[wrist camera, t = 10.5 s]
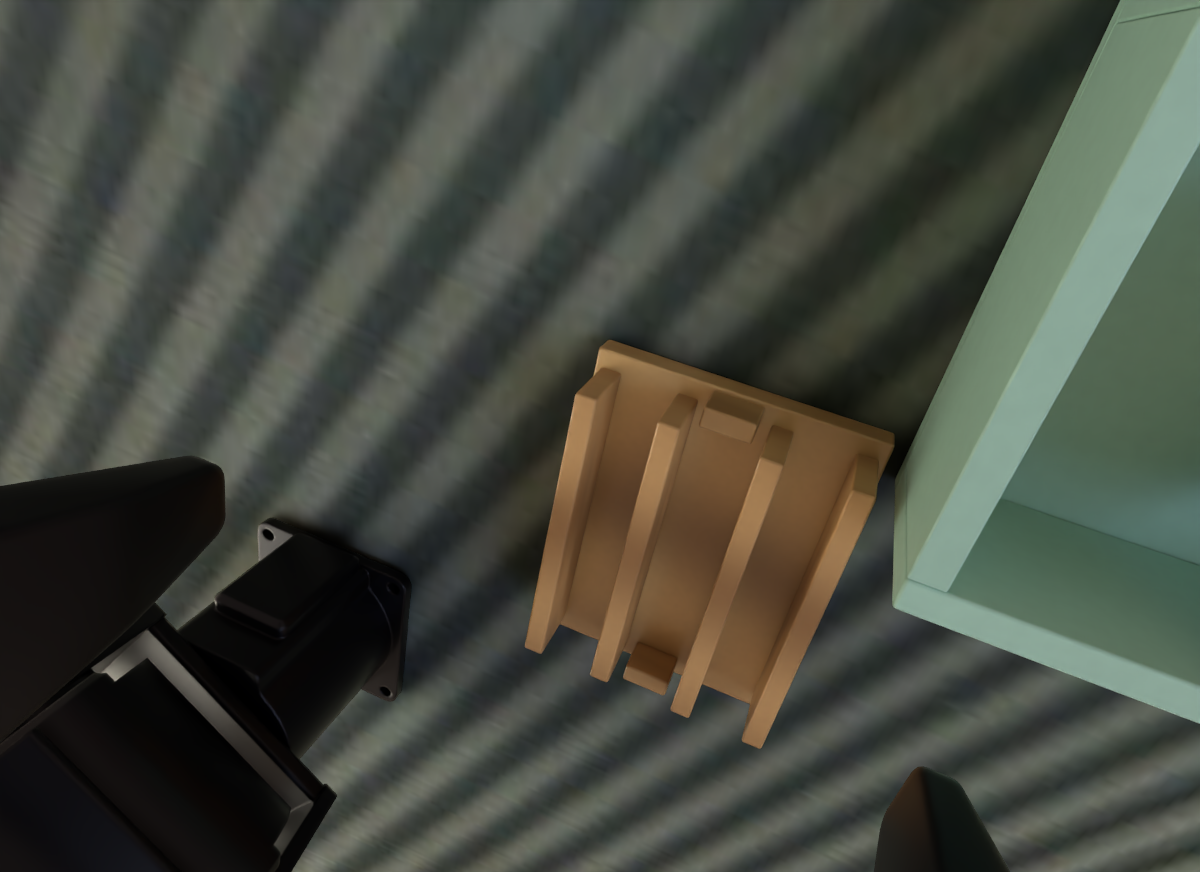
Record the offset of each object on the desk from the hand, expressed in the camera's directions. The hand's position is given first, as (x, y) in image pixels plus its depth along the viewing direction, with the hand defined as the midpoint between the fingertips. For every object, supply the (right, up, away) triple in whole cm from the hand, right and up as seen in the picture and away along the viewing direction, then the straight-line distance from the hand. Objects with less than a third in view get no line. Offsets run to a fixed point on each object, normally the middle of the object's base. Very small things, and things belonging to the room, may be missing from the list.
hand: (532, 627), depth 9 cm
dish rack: (+4, -1, +14) cm, 14 cm away
